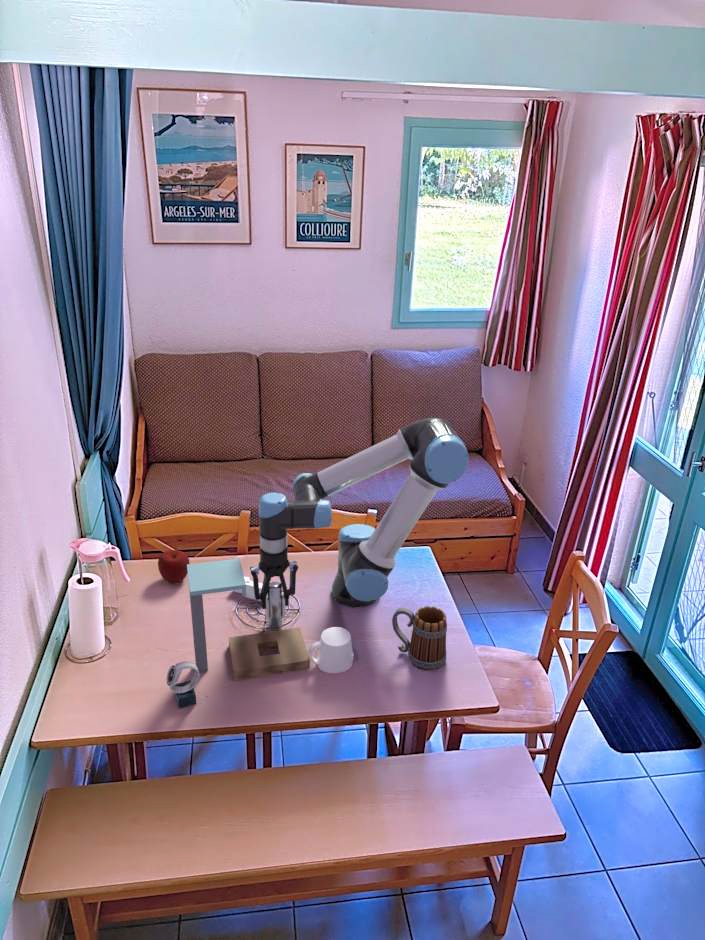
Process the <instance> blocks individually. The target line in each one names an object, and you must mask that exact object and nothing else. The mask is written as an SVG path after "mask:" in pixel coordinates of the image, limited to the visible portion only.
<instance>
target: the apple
mask: <svg viewBox="0 0 705 940" xmlns="http://www.w3.org/2000/svg"><path fill="white" fill-rule="evenodd" d="M187 564H190V558H189V556H188V555H187V554H186V552H184V551H181V550H179V549H171V550H166V551H165V552H163V553H162V554H160V556H159V558H158V560H157V566H158V571H159V574H160V576H161V577H162V579H163V580H164V581H165V582H167V583H168V584H171V585H177V584H179V583H182V582H183V581H184V580H185V579H186V577H187V576H188V570H187Z"/></svg>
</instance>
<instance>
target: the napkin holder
mask: <svg viewBox="0 0 705 940" xmlns="http://www.w3.org/2000/svg"><path fill="white" fill-rule="evenodd" d="M244 579H245V583H246V597H245V598H247V599H250V600H255V601H259V602H261V600H260V599H259V600H256V599H255V595H254V585H253V580H251V579H250V576H249V577H248V576H245V575H244ZM258 584H259V593H261V590H262V585H263V582H259V581H258ZM233 592H235V593H238V594H242V589H240V590H233ZM242 595H243V594H242ZM267 596H268V593H267Z"/></svg>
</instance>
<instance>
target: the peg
mask: <svg viewBox="0 0 705 940" xmlns="http://www.w3.org/2000/svg"><path fill="white" fill-rule="evenodd" d="M282 593H283V589H282V585H281V582H279V581H270V583H269V588H268V600H269V619H268V625H267V626H268V628H269V629H270V630H271V631H277V630H281V628H282V627H283V617H282Z"/></svg>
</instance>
